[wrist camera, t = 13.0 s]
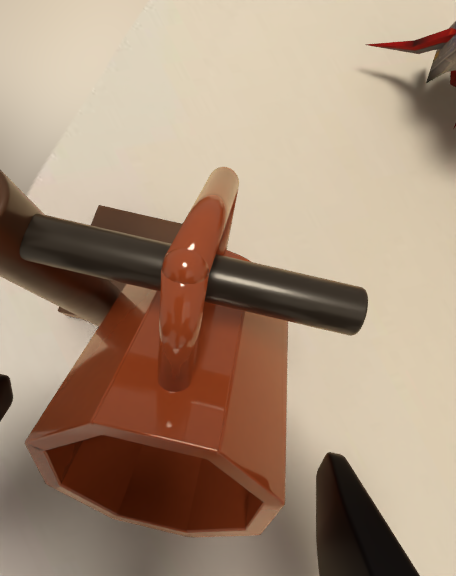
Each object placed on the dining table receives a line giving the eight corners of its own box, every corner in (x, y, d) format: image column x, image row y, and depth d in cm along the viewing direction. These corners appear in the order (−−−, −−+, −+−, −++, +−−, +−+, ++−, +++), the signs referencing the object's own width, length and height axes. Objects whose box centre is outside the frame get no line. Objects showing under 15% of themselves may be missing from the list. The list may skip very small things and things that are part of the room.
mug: (263, 370, 18) (248, 551, 12) (137, 340, 18) (55, 505, 12) (340, 171, 11) (403, 363, 5) (131, 125, 11) (-79, 253, 5)
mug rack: (268, 371, 19) (385, 345, 6) (62, 323, 19) (-237, 200, 6) (289, 256, 21) (409, 57, 8) (104, 214, 22) (-58, -43, 9)
